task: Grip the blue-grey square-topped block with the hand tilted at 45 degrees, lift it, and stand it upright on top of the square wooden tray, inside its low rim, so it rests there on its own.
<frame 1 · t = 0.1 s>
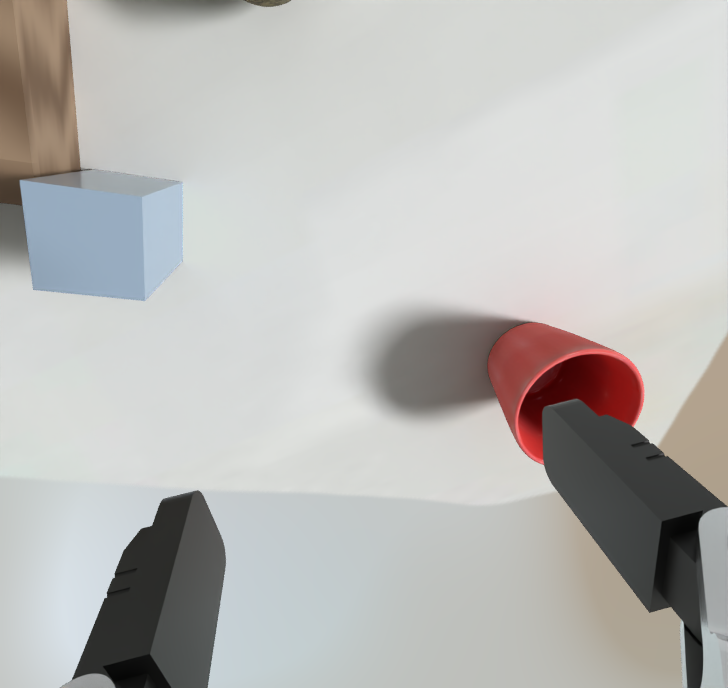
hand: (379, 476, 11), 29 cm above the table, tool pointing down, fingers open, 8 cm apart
flower pot: (523, 358, 45), on the table
blue-grey square-topped block: (141, 217, 35), on the table
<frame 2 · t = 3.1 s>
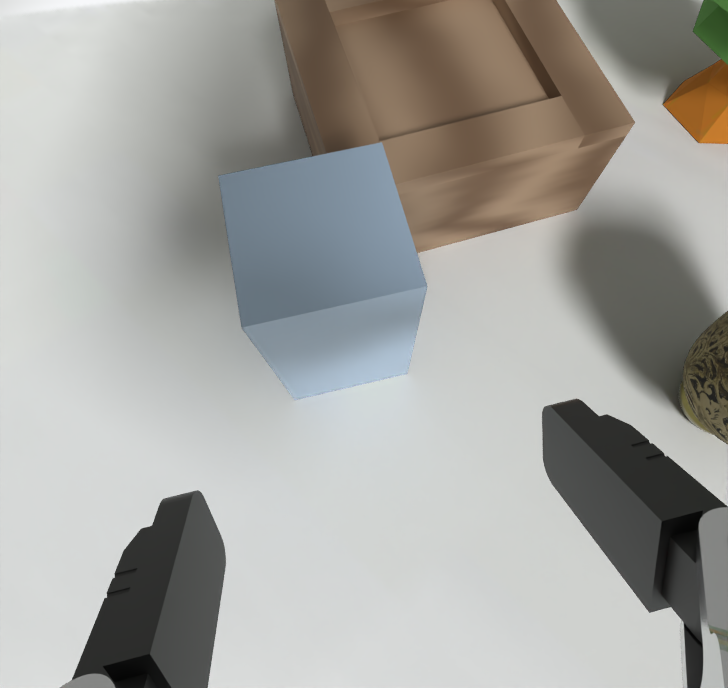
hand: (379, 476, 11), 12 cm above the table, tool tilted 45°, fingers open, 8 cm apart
cup: (706, 403, 23), on the table
square wooden tray: (425, 151, 29), on the table
decorative tree: (705, 110, 30), on the table
blue-grey square-topped block: (339, 334, 25), on the table
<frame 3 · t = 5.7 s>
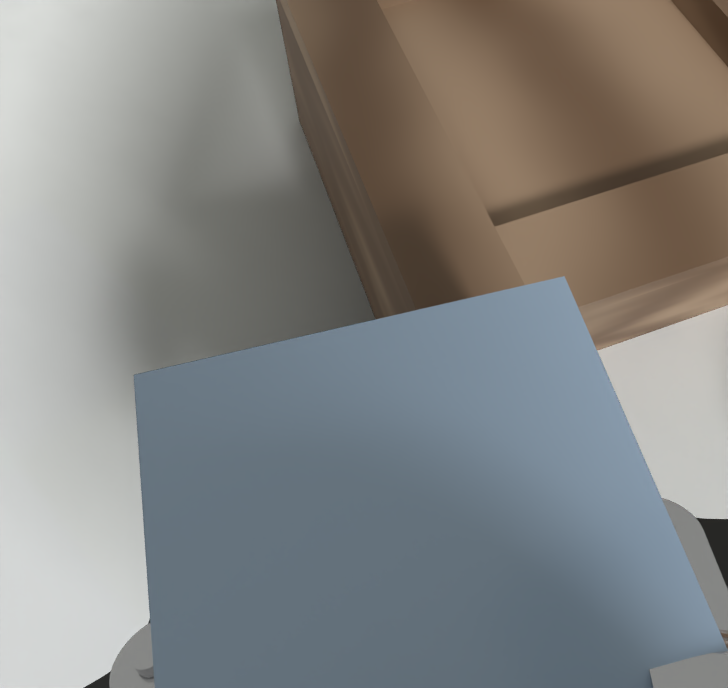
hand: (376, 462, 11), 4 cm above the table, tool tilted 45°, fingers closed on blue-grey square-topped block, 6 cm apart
square wooden tray: (509, 203, 19), on the table
blue-grey square-topped block: (389, 528, 15), on the table, touching gripper
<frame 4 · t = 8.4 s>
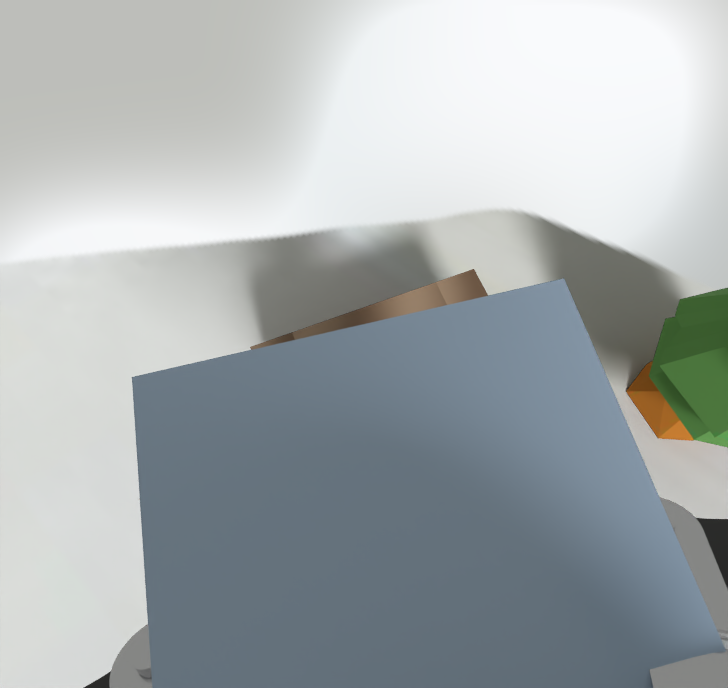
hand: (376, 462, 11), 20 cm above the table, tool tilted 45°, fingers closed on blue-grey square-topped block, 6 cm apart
square wooden tray: (402, 437, 31), on the table
decorative tree: (665, 398, 32), on the table
blue-grey square-topped block: (389, 529, 15), point 15 cm above the table, touching gripper
when the fingers open (11 cm above the table, at t = 11.1 s): blue-grey square-topped block stays where it is, point 6 cm above the table.
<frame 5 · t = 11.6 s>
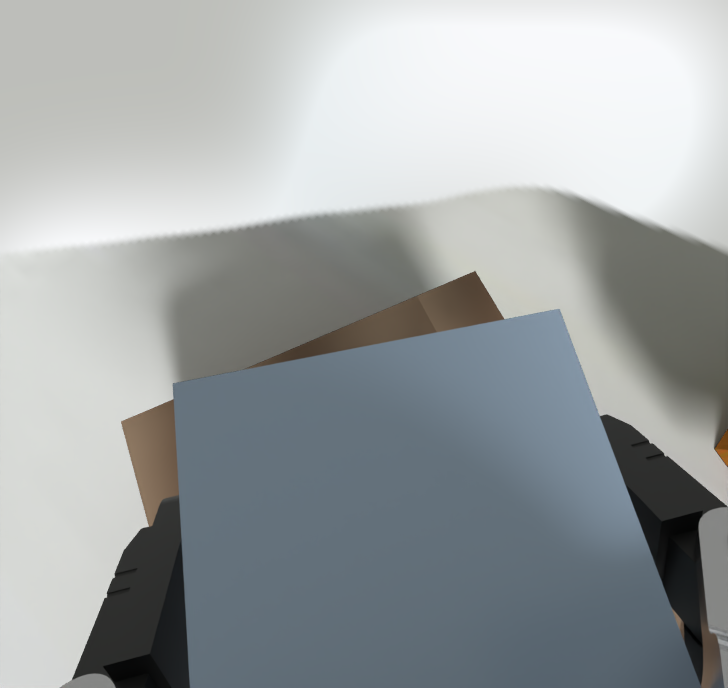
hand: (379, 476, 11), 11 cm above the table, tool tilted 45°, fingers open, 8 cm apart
square wooden tray: (384, 524, 21), on the table
blue-grey square-topped block: (390, 528, 15), point 6 cm above the table
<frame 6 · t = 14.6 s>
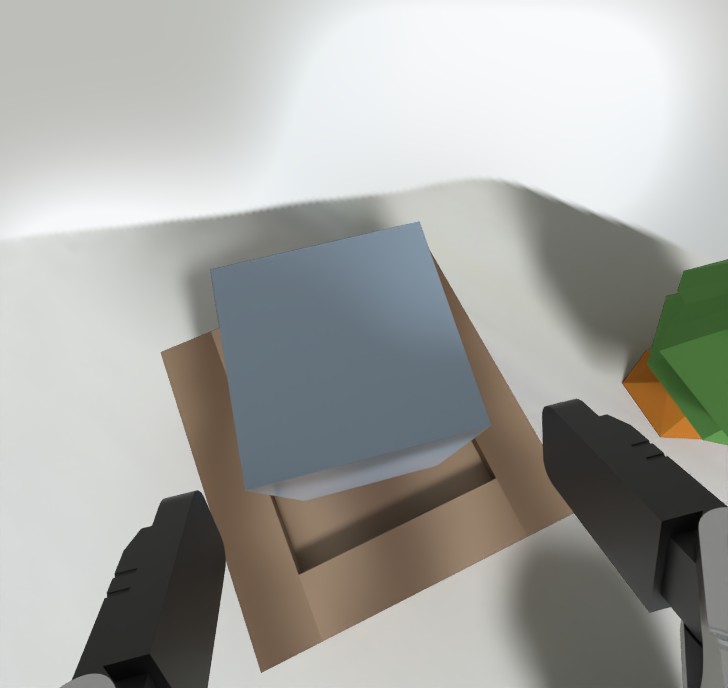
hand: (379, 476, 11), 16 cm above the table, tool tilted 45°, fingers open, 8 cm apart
square wooden tray: (360, 446, 27), on the table
decorative tree: (668, 390, 27), on the table
blue-grey square-topped block: (355, 417, 21), point 6 cm above the table
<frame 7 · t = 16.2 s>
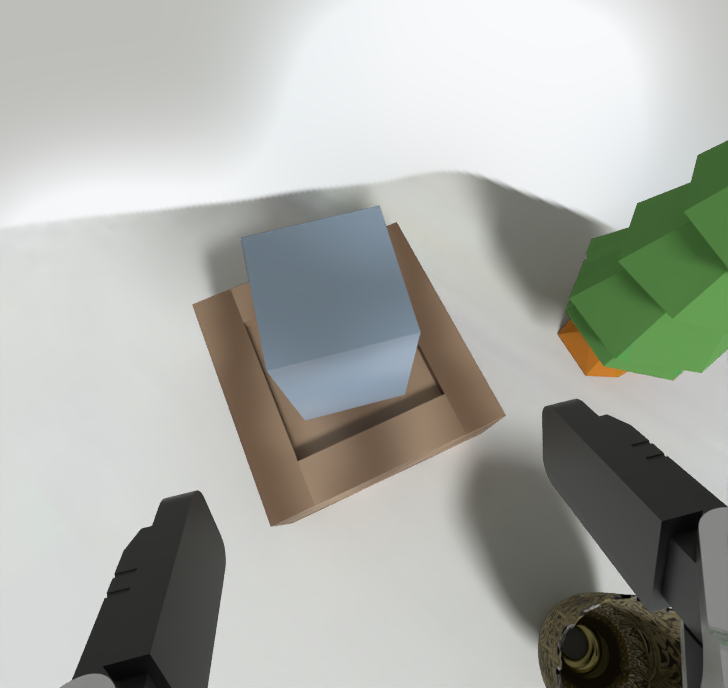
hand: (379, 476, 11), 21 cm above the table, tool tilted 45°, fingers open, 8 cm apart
cup: (571, 641, 28), on the table
square wooden tray: (347, 386, 33), on the table, touching blue-grey square-topped block
decorative tree: (595, 339, 34), on the table
blue-grey square-topped block: (343, 360, 28), point 6 cm above the table, touching square wooden tray
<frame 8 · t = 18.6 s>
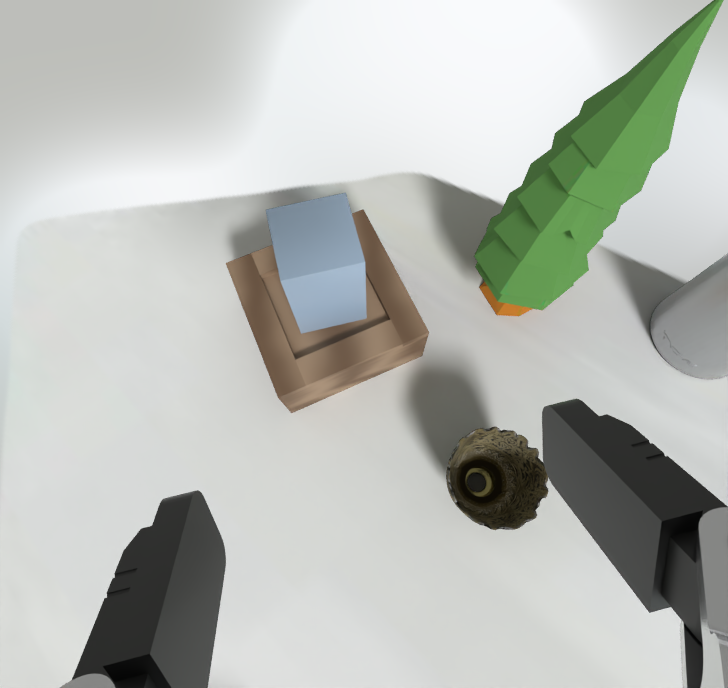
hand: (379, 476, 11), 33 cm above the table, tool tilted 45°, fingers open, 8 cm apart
cup: (475, 482, 42), on the table
square wooden tray: (330, 325, 48), on the table, touching blue-grey square-topped block
decorative tree: (505, 291, 48), on the table
blue-grey square-topped block: (326, 296, 42), point 6 cm above the table, touching square wooden tray
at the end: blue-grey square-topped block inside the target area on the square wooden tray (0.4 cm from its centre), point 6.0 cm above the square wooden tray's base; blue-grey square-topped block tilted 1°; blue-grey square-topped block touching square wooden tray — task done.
